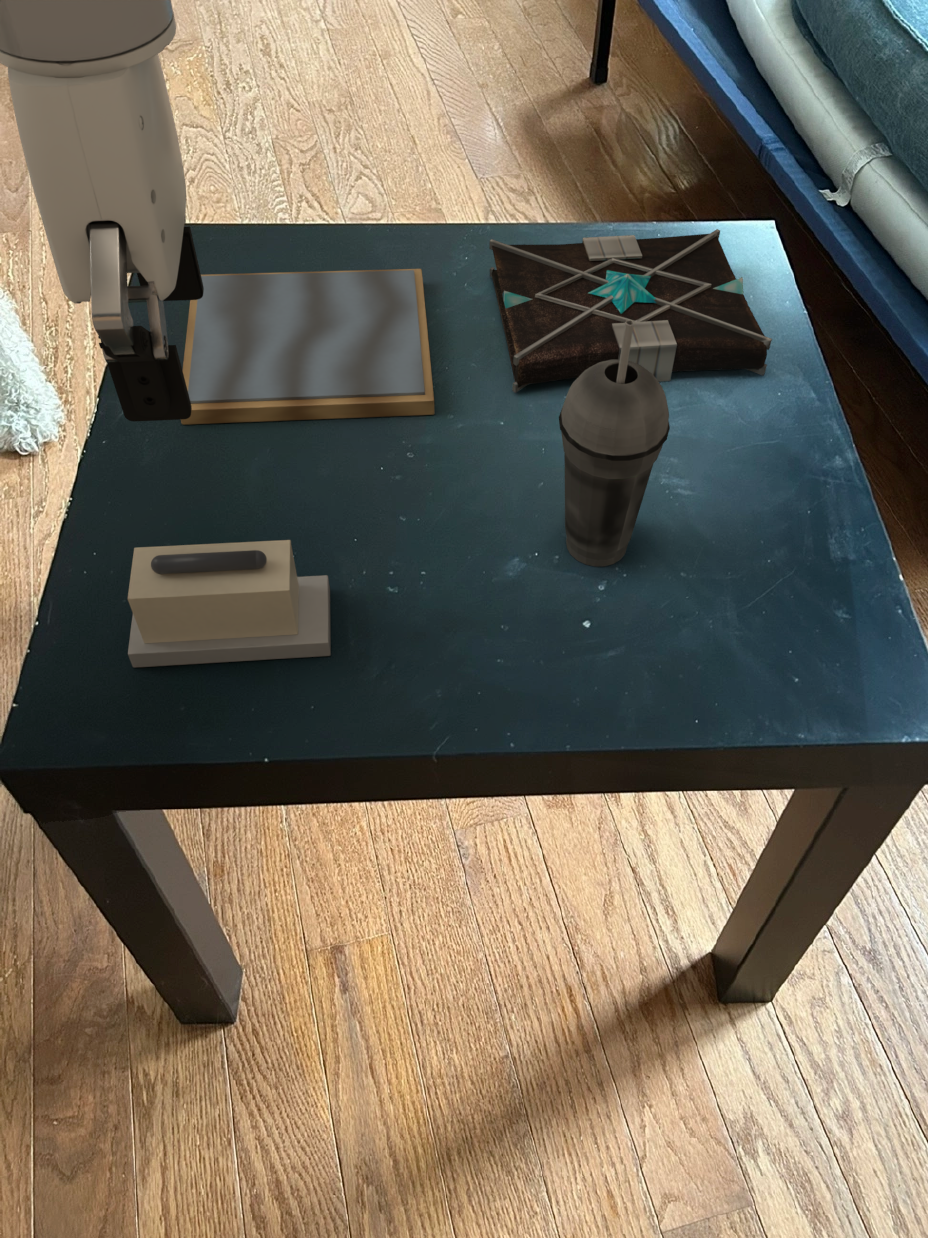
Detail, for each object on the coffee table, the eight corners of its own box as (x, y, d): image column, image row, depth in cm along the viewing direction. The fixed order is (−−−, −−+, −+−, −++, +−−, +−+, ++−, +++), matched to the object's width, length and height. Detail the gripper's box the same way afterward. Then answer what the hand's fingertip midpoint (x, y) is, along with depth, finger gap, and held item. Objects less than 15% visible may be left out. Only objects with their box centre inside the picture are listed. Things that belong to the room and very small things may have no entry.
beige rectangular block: (132, 668, 73) (104, 597, 67) (141, 599, 77) (114, 526, 71) (330, 656, 74) (319, 585, 68) (330, 588, 78) (319, 516, 72)
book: (512, 395, 91) (515, 344, 87) (484, 275, 101) (485, 224, 97) (765, 377, 93) (779, 327, 89) (714, 262, 103) (724, 212, 99)
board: (181, 425, 87) (177, 407, 86) (196, 289, 98) (192, 271, 96) (434, 415, 89) (434, 397, 88) (422, 283, 100) (421, 265, 98)
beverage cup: (647, 513, 83) (692, 279, 67) (644, 585, 79) (691, 354, 63) (551, 504, 83) (573, 268, 67) (543, 575, 79) (564, 342, 63)
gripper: (8, -93, 48) (112, 259, 62) (-73, 106, 38) (71, 473, 52) (184, -93, 49) (247, 255, 63) (149, 102, 39) (233, 466, 53)
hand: (167, 354), depth 57 cm, fingers open, 9 cm apart
